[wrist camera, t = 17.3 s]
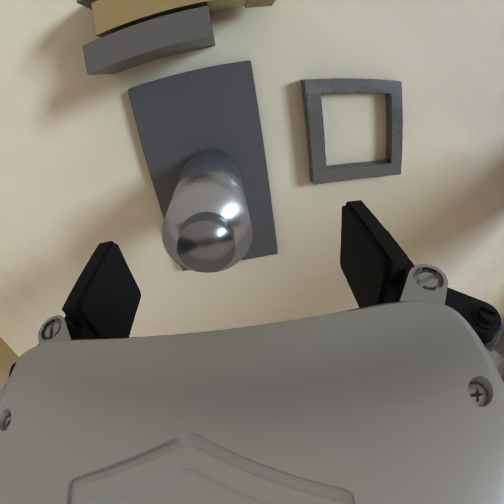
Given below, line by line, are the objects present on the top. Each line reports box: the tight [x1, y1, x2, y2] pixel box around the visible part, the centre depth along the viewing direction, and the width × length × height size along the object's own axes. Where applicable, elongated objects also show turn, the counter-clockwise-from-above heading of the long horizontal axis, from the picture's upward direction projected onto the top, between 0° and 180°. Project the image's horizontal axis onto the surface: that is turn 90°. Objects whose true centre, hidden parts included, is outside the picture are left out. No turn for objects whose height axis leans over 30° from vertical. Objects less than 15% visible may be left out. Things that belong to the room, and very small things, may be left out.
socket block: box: [77, 0, 215, 75], centre depth 10 cm, size 7×7×4 cm
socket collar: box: [301, 79, 403, 184], centre depth 18 cm, size 8×8×1 cm
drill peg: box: [162, 148, 252, 272], centre depth 15 cm, size 4×4×9 cm
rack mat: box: [128, 61, 278, 271], centre depth 19 cm, size 8×15×1 cm, turn 8°
